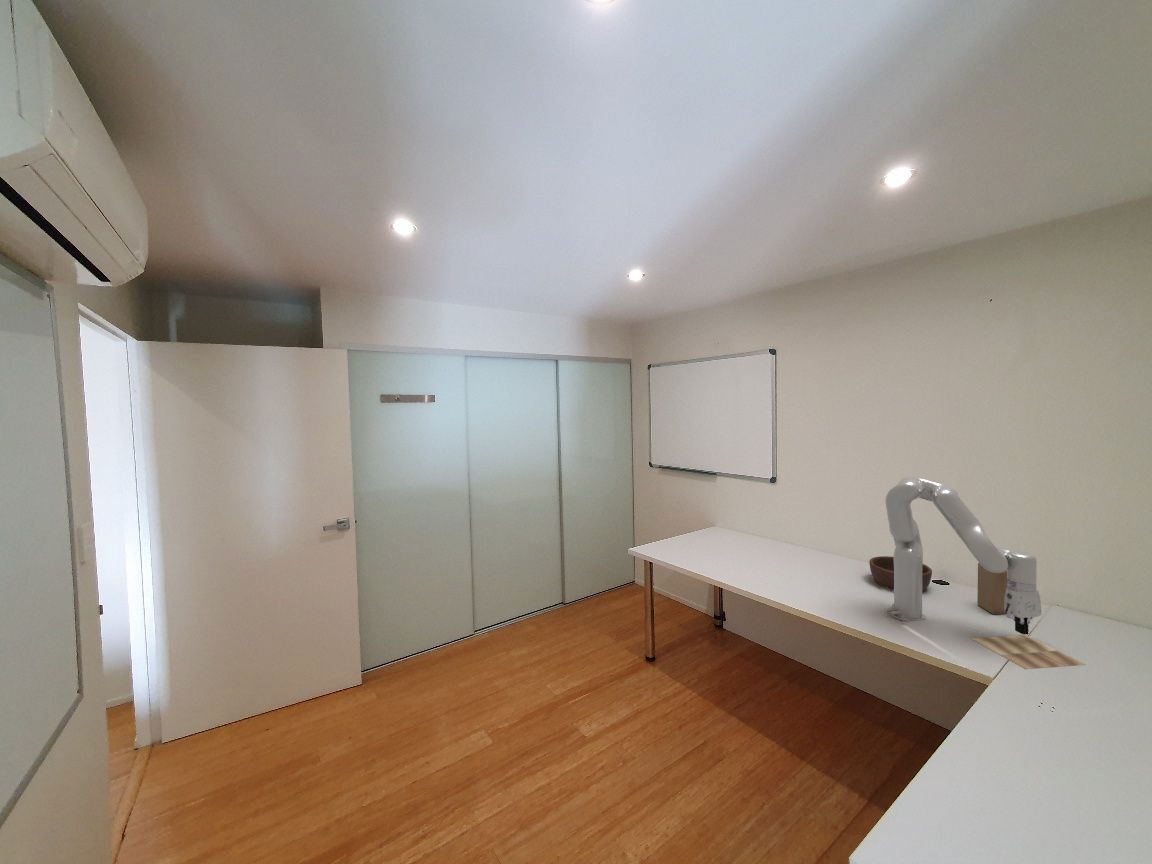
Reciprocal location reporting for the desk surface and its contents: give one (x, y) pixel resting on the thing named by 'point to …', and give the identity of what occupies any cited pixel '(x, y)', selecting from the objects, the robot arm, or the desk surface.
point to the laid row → (1042, 660)
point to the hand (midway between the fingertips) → (1021, 632)
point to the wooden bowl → (885, 572)
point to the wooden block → (991, 590)
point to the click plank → (1013, 644)
